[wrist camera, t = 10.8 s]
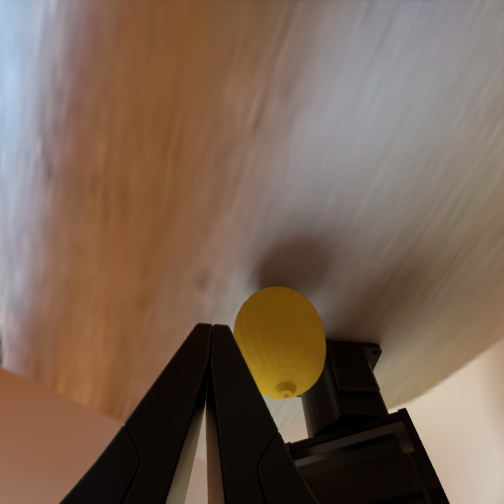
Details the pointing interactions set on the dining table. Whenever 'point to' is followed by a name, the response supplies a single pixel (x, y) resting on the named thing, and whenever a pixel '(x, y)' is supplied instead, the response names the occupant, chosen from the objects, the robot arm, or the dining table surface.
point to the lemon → (281, 341)
